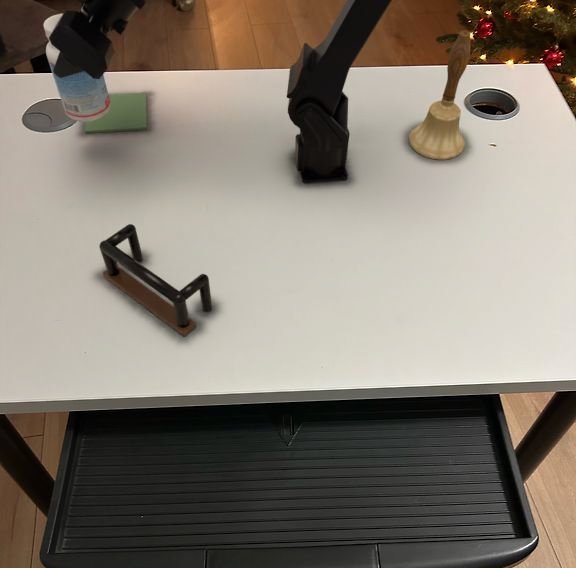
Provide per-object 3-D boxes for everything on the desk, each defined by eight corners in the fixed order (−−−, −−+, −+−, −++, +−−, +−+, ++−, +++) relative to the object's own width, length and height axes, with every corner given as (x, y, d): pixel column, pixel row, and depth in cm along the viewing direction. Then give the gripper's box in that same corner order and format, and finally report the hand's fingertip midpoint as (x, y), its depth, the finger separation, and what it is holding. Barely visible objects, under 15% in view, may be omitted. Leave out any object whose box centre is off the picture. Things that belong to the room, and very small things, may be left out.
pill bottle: (120, 112, 81) (98, 24, 72) (78, 129, 79) (51, 41, 70) (98, 91, 84) (74, 4, 74) (57, 107, 82) (28, 20, 72)
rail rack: (136, 253, 76) (127, 218, 72) (216, 309, 72) (213, 276, 67) (103, 277, 74) (91, 242, 69) (184, 337, 69) (177, 304, 65)
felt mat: (146, 94, 95) (146, 92, 95) (146, 129, 90) (146, 127, 90) (88, 98, 94) (87, 95, 94) (85, 133, 89) (84, 131, 89)
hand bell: (475, 152, 89) (511, 41, 76) (425, 165, 87) (453, 54, 74) (446, 120, 93) (475, 10, 80) (398, 132, 91) (420, 21, 78)
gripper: (89, -135, 67) (26, -27, 76) (39, -61, 57) (-27, 52, 66) (171, -49, 73) (103, 40, 83) (139, 31, 63) (65, 121, 72)
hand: (64, 60), depth 76 cm, fingers closed on pill bottle, 6 cm apart
